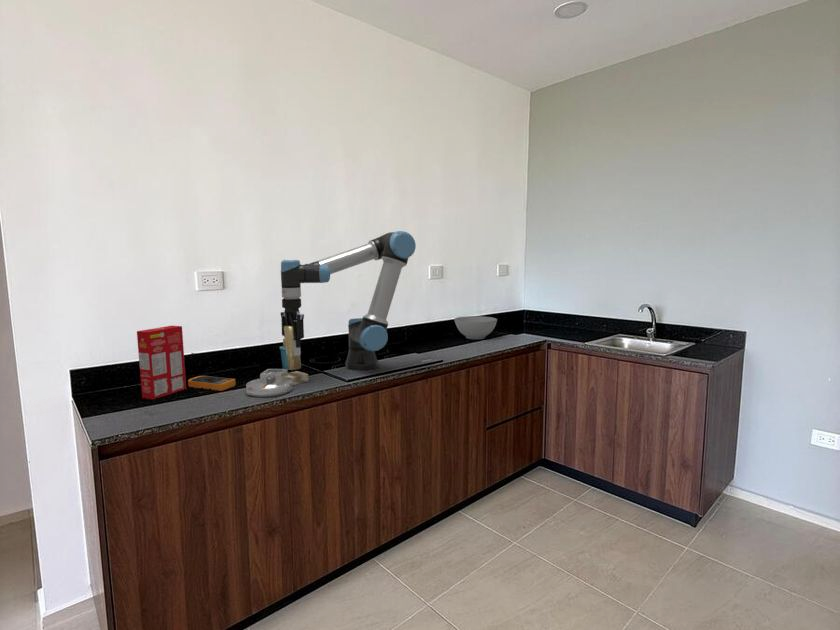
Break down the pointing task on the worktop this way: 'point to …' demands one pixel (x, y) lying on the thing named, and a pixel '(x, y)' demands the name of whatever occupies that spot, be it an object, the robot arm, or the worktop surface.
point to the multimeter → (211, 383)
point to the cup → (284, 356)
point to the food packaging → (161, 361)
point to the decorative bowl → (475, 326)
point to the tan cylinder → (291, 348)
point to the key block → (298, 377)
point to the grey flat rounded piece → (270, 384)
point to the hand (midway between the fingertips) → (293, 354)
